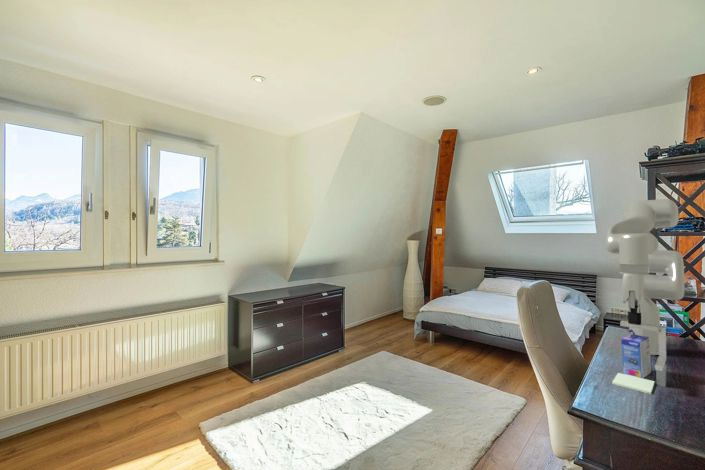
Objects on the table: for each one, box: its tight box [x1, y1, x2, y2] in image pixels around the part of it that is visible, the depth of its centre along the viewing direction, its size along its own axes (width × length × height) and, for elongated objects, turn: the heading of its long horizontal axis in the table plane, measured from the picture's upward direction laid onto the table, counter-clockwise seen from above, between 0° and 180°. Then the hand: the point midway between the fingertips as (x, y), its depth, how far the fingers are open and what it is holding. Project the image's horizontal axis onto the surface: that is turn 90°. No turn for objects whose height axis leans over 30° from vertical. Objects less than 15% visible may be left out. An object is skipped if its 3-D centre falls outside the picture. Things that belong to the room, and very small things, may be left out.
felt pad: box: [611, 372, 656, 395], centre depth 102 cm, size 11×9×1 cm
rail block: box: [655, 363, 667, 387], centre depth 102 cm, size 4×2×6 cm, turn 132°
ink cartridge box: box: [620, 329, 652, 379], centre depth 110 cm, size 10×6×14 cm, turn 124°
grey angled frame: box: [620, 316, 667, 371], centre depth 105 cm, size 15×11×13 cm
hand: (634, 323), depth 109 cm, fingers closed
